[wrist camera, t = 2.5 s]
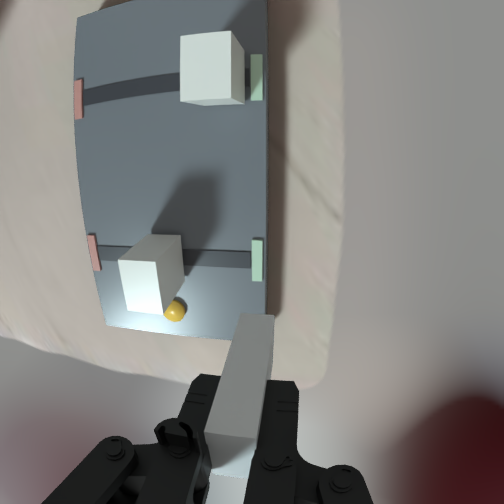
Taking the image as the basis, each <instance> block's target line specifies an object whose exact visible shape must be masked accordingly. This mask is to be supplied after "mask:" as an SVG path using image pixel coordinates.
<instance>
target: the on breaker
mask: <svg viewBox="0 0 504 504" xmlns="http://www.w3.org/2000/svg"><path fill="white" fill-rule="evenodd" d="M180 101H181V102H186V103H192V104H197V105H202V106H210V105H233V104H245V59H244V49H243V48H242V46H241V45H240V43H239V42H238V40H237V39H236V37H235V36H234V34H233V33H232V32H231V31H221V32H210V33H200V34H192V35H184V36H180Z"/></svg>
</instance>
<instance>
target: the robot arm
mask: <svg viewBox="0 0 504 504" xmlns="http://www.w3.org/2000/svg"><path fill="white" fill-rule="evenodd" d="M274 320H275V315H264V314H249V313H240V317H239V320H238V323H237V326H236V330H235V333H234V336H233V339H232V343H231V346H230V349H229V352H228V356H227V359H226V362H225V365H224V369H223V372H222V375H221V376H216V375H208V374H200V375H199V376H198V377H197V378H196V379H194V380H193V381H192V383H191V385H190V388H189V391H188V394H187V395H186V398H185V402H184V403H183V405H182V408H181V411H180V413H179V415H178V418H171V419H167V420H164V421H162V422H161V423H159V424H158V425H157V426H156V428H155V429H154V432H155V434H156V437H157V439H158V443H155V444H146V445H145V444H143V445H132V443H131V442H130V441H129V440H128V439H126V438H124V437H121V436H111V437H108V438H105V439H103V440H102V441H101V442H99V444H98V445H97V446H96V447H95V448H94V449H93V450H92V451H91V452H90V453H89V454H88V455H87V456H86V457H85V458H84V460H83V461H82V462H81V463H80V464H79V465H78V466H77V467H76V468H75V469H74V470H73V471H72V472H71V473H70V474H69V475H68V477H66V479H65V480H64V481H63V482H62V483H61V484H60V485H59V486H58V487H57V488H56V489H55V490H54V491H53V492H52V493H51V494H50V495H49V496H48V497H47V498H46V500H44V501H43V502H42V504H205V502H206V499H207V495H208V491H209V476H210V472H211V469H212V473H213V474H217V475H223V476H224V475H225V476H231V477H238V478H239V477H240V478H248V482H247V487H246V493H245V498H244V503H243V504H373V501H372V499H371V496H370V494H369V491H368V488H367V486H366V483H365V481H364V478H363V476H362V475H361V473H360V472H359V471H358V470H357V469H355V468H354V467H352V466H348V465H335V466H332V467H330V468H328V469H326V468H322V467H319V466H316V465H313V464H310V463H308V462H307V461H305V460H304V459H303V458H302V457H301V456H300V455H299V453H298V450H297V428H298V403H299V390H298V388H297V387H296V385H295V383H294V381H280V380H270V379H271V372H272V364H273V345H274Z"/></svg>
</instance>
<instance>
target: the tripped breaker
mask: <svg viewBox="0 0 504 504" xmlns="http://www.w3.org/2000/svg"><path fill="white" fill-rule="evenodd" d="M118 265H119V270H120V275H121V281H122V286H123V291H124V296H125V300H126V305H127V310H128V311H136V312H144V313H153V314H162V315H163V314H164V313H165V311H166V310H167V308H168V307H169V305H170V303H171V302H172V300H173V299H174V297H175V296H176V294H177V293H178V291H179V289H180V288H181V286H182V285H183V283H184V282H185V276H184V267H183V256H182V245H181V235H160V234H147V235H146V236H145V237H144V238H143V239H141V240H140V241H139V242H138V243H137V244H135V245H134V246H133V247H132V248H131V249H130V250H128V251H127V252H126V253H125V254H124V255H123V256H121V257H120V258H119V259H118Z"/></svg>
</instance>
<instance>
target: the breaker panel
mask: <svg viewBox="0 0 504 504" xmlns="http://www.w3.org/2000/svg"><path fill="white" fill-rule="evenodd" d="M221 31H231V32H232V33H233V34H234V36H235V37H236V39H237V40H238V42H239V43H240V45H241V46H242V48H243V49H244V59H245V104H233V105H210V106H202V105H197V104H192V103H186V102H181V101H180V36H184V35H192V34H200V33H210V32H221ZM74 127H75V145H76V158H77V169H78V179H79V188H80V196H81V204H82V211H83V218H84V224H85V230H86V236H87V242H88V247H89V252H90V258H91V263H92V267H93V272H94V277H95V281H96V286H97V290H98V294H99V298H100V302H101V306H102V310H103V314H104V318H105V321H106V325H110V326H116V327H122V328H129V329H136V330H143V331H150V332H158V333H166V334H174V335H182V336H192V337H201V338H211V339H223V340H232V339H233V336H234V333H235V330H236V326H237V323H238V320H239V317H240V313H249V314H264V315H267V260H268V12H267V0H133V1H129V2H125V3H122V4H118V5H115V6H111V7H108V8H105V9H102V10H99V11H95V12H93V13H90V14H87V15H84V16H81V17H78V18H77V26H76V39H75V56H74ZM147 234H160V235H181V245H182V256H183V267H184V276H185V282H184V283H183V285H182V286H181V288H180V289H179V291H178V293H177V294H176V296H175V297H174V299H173V300H172V302H171V303H170V305H169V307H168V308H167V310H166V311H165V313H164V314H163V315H162V314H153V313H144V312H136V311H128V310H127V305H126V300H125V296H124V291H123V286H122V281H121V275H120V270H119V265H118V259H119V258H120V257H121V256H123V255H124V254H125V253H126V252H127V251H128V250H130V249H131V248H132V247H133V246H134V245H135V244H137V243H138V242H139V241H140V240H141V239H143V238H144V237H145V236H146V235H147Z"/></svg>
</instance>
